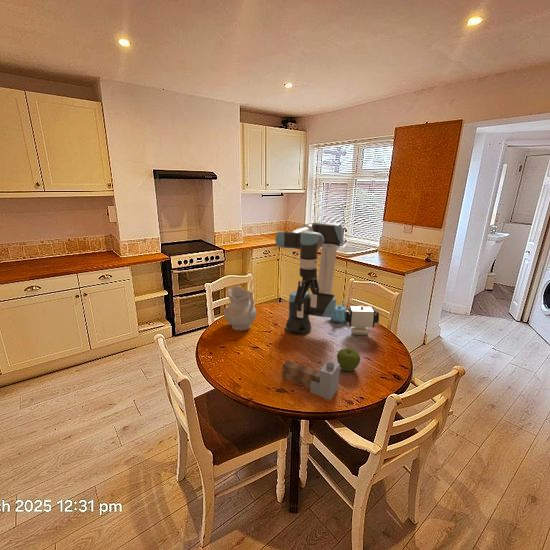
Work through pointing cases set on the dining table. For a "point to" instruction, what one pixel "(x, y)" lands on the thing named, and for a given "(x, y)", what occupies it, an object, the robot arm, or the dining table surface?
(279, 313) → the dining table surface
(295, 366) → the rail
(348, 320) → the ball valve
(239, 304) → the ceramic pitcher
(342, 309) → the teapot
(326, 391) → the grey two-prong block
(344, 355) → the apple
